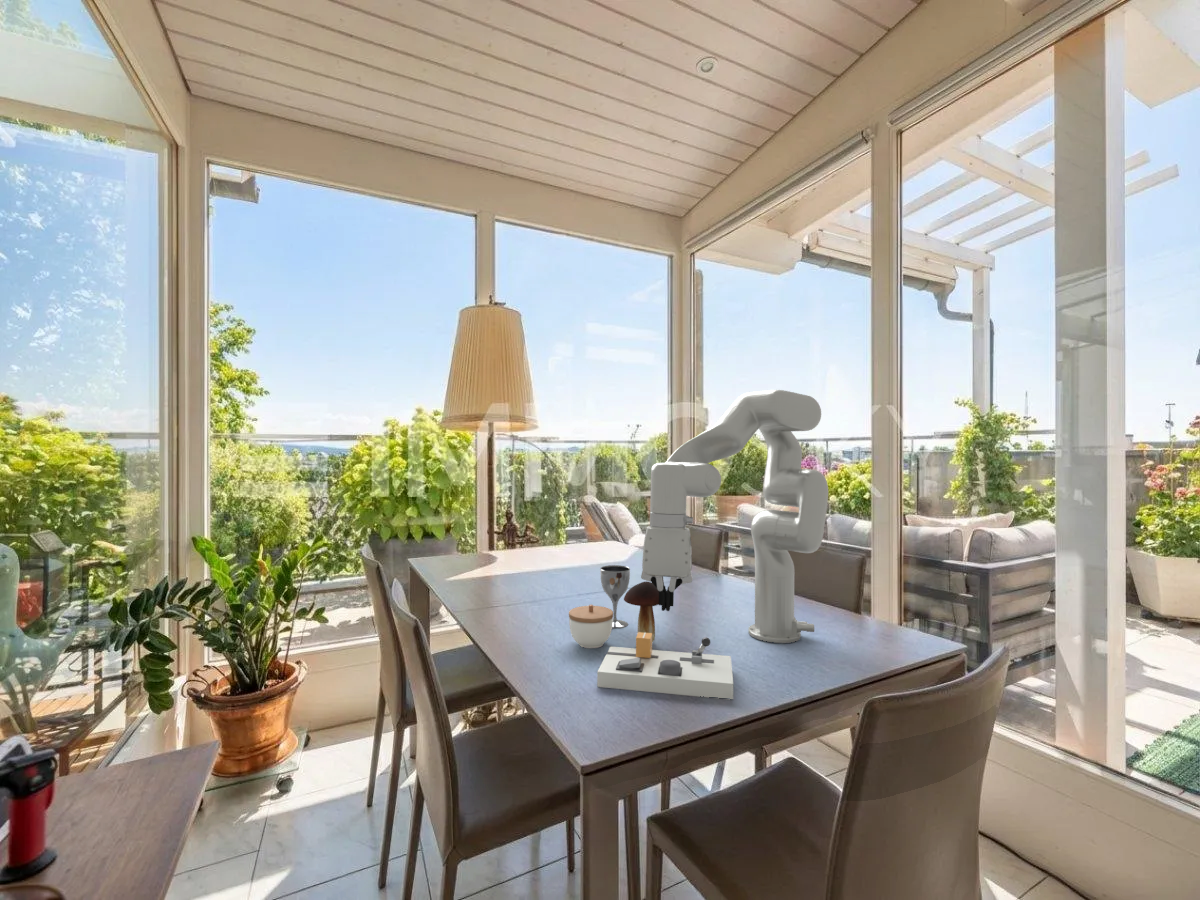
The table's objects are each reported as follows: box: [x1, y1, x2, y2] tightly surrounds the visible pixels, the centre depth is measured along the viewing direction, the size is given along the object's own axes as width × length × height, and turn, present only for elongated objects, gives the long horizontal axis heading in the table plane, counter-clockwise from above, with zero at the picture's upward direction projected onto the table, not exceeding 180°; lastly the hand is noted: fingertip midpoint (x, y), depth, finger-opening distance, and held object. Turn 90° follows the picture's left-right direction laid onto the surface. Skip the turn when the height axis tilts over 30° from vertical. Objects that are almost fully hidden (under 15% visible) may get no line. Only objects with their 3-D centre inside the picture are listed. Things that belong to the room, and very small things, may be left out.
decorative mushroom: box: [623, 580, 660, 643], centre depth 131 cm, size 11×11×15 cm
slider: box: [635, 631, 653, 658], centre depth 115 cm, size 3×4×4 cm
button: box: [660, 660, 680, 676], centre depth 107 cm, size 4×4×4 cm
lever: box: [695, 636, 711, 656], centre depth 112 cm, size 2×2×5 cm
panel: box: [596, 646, 734, 700], centre depth 111 cm, size 26×14×5 cm, turn 78°
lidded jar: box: [568, 604, 614, 649], centre depth 130 cm, size 11×11×9 cm
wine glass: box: [599, 564, 631, 629], centre depth 145 cm, size 8×8×15 cm
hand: (665, 609), depth 113 cm, fingers closed
